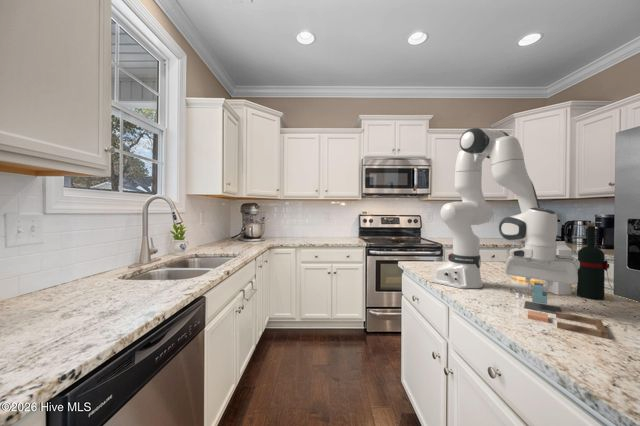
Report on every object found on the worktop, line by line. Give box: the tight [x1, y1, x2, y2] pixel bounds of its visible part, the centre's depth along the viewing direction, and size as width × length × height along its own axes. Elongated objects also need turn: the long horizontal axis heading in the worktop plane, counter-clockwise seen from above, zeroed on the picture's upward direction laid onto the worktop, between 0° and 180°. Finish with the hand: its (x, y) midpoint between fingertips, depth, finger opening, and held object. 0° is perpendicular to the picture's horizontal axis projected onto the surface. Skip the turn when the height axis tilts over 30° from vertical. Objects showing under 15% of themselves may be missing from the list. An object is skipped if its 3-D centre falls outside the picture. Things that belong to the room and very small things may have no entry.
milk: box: [544, 240, 573, 296], centre depth 114 cm, size 6×6×22 cm
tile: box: [527, 309, 549, 324], centre depth 86 cm, size 5×5×2 cm
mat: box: [523, 300, 562, 315], centre depth 95 cm, size 10×10×1 cm
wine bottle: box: [576, 222, 614, 301], centre depth 108 cm, size 8×10×30 cm
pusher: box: [531, 282, 548, 305], centre depth 96 cm, size 4×7×6 cm, turn 140°
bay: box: [555, 311, 609, 340], centre depth 80 cm, size 10×11×2 cm
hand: (538, 291), depth 96 cm, fingers closed on pusher, 2 cm apart
